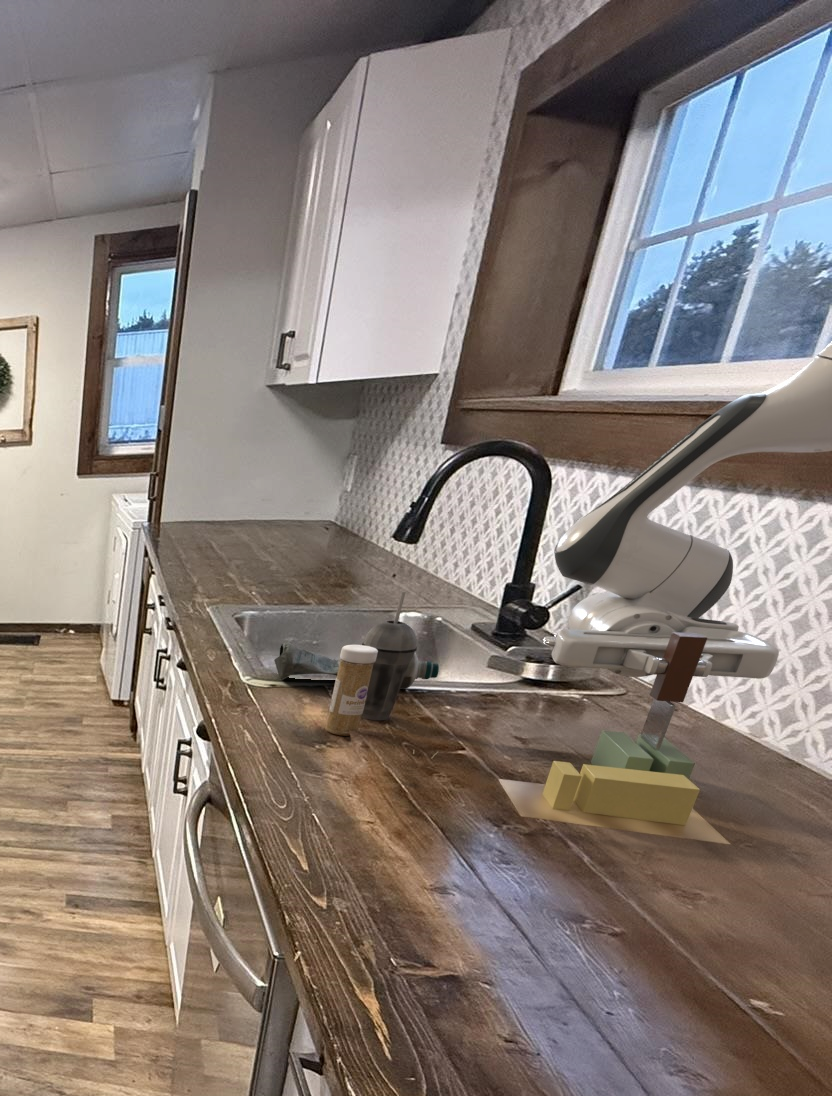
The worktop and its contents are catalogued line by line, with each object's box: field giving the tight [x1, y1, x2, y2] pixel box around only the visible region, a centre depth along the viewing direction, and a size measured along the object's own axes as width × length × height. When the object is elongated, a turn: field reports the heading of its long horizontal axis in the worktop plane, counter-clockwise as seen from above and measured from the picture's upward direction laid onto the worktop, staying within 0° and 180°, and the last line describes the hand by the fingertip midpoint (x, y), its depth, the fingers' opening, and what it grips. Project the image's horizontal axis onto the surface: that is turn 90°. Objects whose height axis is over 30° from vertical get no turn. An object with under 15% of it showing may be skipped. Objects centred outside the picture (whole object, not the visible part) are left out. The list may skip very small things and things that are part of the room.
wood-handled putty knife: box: [640, 632, 707, 751], centre depth 100 cm, size 2×5×14 cm, turn 153°
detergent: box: [273, 641, 440, 690], centre depth 148 cm, size 13×7×25 cm
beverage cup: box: [361, 591, 418, 721], centre depth 130 cm, size 7×7×20 cm
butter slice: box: [542, 760, 582, 811], centre depth 99 cm, size 2×4×4 cm, turn 153°
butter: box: [573, 763, 701, 825], centre depth 96 cm, size 9×4×4 cm, turn 63°
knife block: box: [590, 730, 696, 780], centre depth 104 cm, size 6×10×6 cm, turn 153°
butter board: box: [497, 778, 731, 845], centre depth 98 cm, size 18×12×2 cm, turn 63°
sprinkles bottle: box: [324, 644, 378, 737], centre depth 125 cm, size 5×5×13 cm
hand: (681, 669), depth 98 cm, fingers closed on wood-handled putty knife, 2 cm apart
